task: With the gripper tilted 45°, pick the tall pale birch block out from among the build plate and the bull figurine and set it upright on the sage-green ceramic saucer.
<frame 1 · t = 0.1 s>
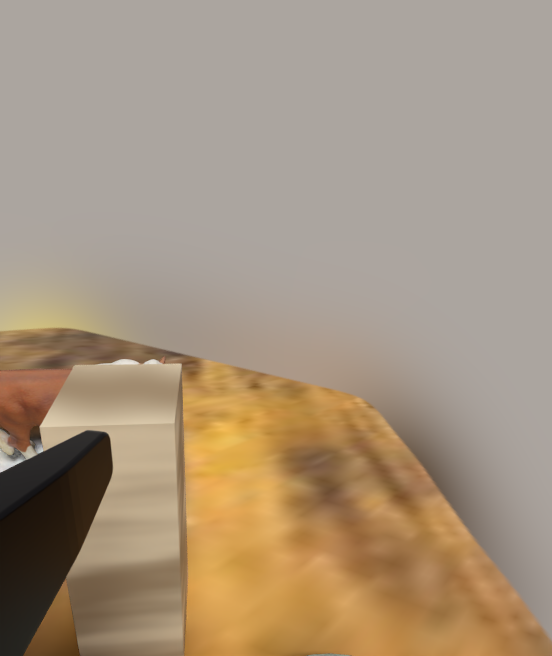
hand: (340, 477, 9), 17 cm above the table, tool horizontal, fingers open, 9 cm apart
birch block: (140, 618, 23), on the table
bull figurine: (92, 459, 34), on the table
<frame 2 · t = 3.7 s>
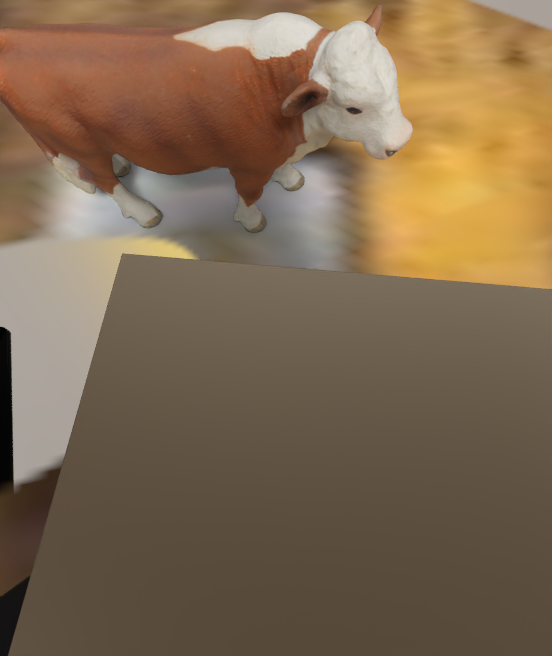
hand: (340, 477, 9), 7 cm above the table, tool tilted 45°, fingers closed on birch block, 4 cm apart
birch block: (317, 543, 14), on the table, touching gripper
bull figurine: (222, 204, 20), on the table
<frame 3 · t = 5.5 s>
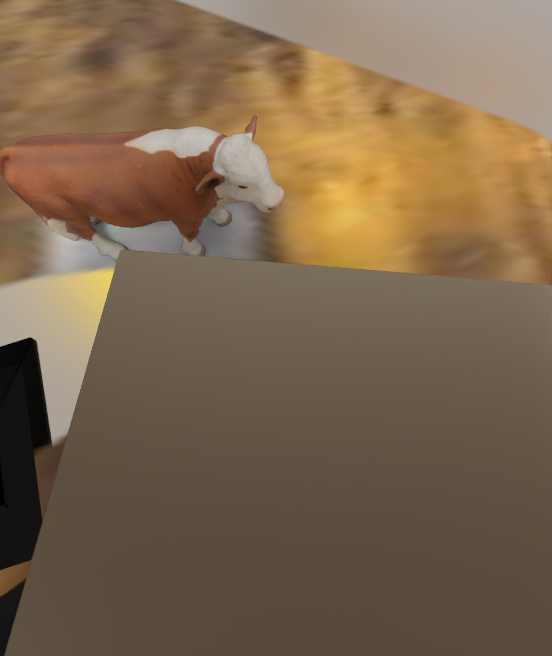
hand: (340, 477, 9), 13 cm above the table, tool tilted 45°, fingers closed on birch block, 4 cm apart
birch block: (317, 542, 14), point 7 cm above the table, touching gripper
bull figurine: (173, 239, 27), on the table
when the fingers open (9 cm above the table, at t = 7.6 s): birch block drops 1 cm, resting on saucer.
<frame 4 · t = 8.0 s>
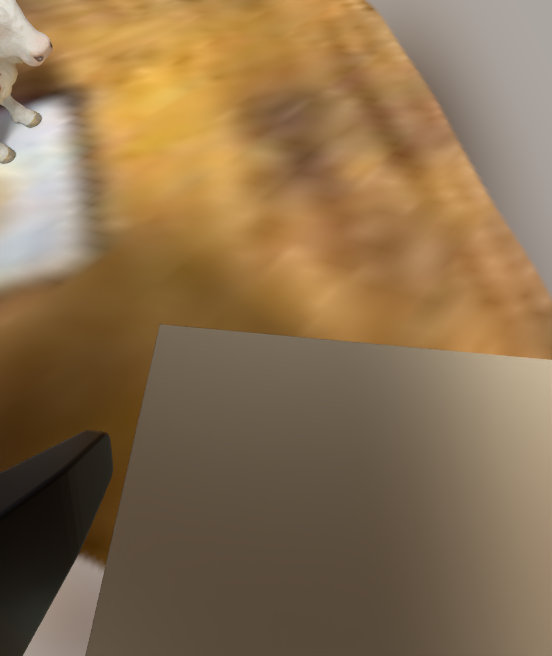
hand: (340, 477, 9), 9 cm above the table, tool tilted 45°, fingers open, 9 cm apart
birch block: (316, 540, 15), point 1 cm above the table, touching saucer
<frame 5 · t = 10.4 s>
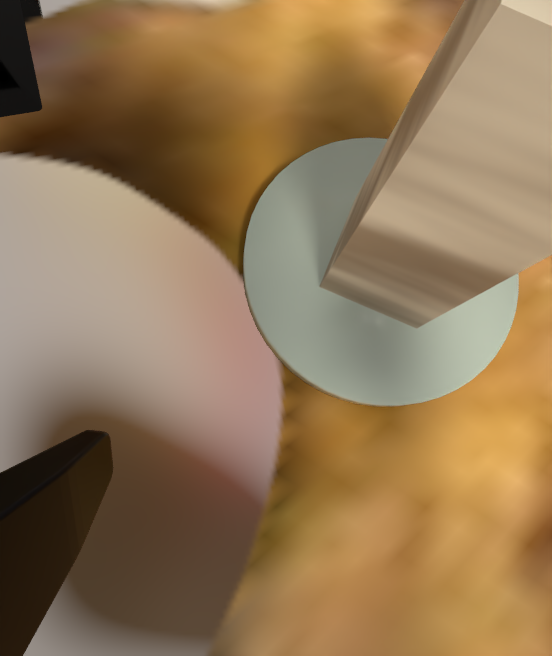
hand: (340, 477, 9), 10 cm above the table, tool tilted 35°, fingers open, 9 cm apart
birch block: (385, 262, 20), point 1 cm above the table, touching saucer
saucer: (376, 272, 21), on the table
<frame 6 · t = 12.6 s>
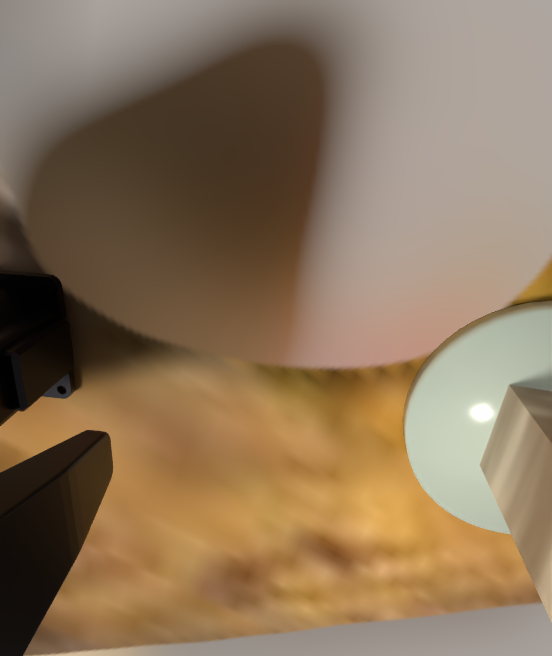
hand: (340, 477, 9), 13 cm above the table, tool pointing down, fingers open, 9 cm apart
birch block: (542, 434, 21), point 1 cm above the table, touching saucer
saucer: (531, 419, 22), on the table
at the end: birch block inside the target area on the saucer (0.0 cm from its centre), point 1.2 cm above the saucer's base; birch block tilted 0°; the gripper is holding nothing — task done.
